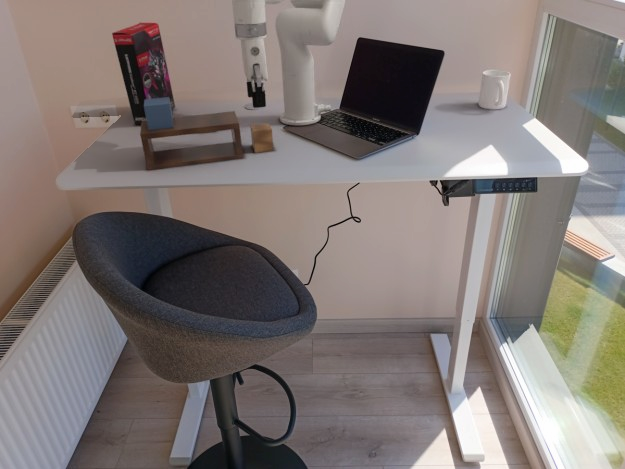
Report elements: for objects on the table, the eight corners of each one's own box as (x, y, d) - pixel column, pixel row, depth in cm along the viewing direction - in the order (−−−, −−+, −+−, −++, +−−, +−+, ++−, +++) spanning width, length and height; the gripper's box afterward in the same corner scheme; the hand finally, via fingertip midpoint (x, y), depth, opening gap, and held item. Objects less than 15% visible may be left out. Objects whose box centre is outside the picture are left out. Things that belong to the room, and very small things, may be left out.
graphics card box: (152, 126, 155) (133, 32, 141) (132, 125, 157) (110, 32, 142) (176, 109, 170) (160, 21, 155) (157, 108, 171) (139, 22, 157)
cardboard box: (270, 144, 140) (268, 123, 136) (273, 150, 135) (271, 129, 132) (252, 146, 139) (250, 125, 135) (255, 153, 134) (252, 131, 131)
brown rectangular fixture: (238, 144, 140) (234, 110, 135) (243, 158, 132) (239, 122, 127) (149, 155, 135) (141, 121, 130) (148, 170, 127) (140, 134, 122)
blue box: (173, 120, 130) (169, 96, 127) (173, 127, 125) (169, 103, 122) (149, 122, 129) (144, 99, 126) (148, 130, 124) (143, 106, 121)
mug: (512, 113, 154) (518, 79, 149) (485, 114, 155) (490, 80, 149) (500, 101, 164) (506, 69, 159) (475, 102, 165) (479, 70, 159)
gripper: (272, 35, 115) (277, 109, 123) (260, 24, 129) (265, 92, 138) (239, 37, 113) (246, 112, 122) (231, 26, 128) (238, 94, 137)
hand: (256, 101), depth 130 cm, fingers open, 9 cm apart
